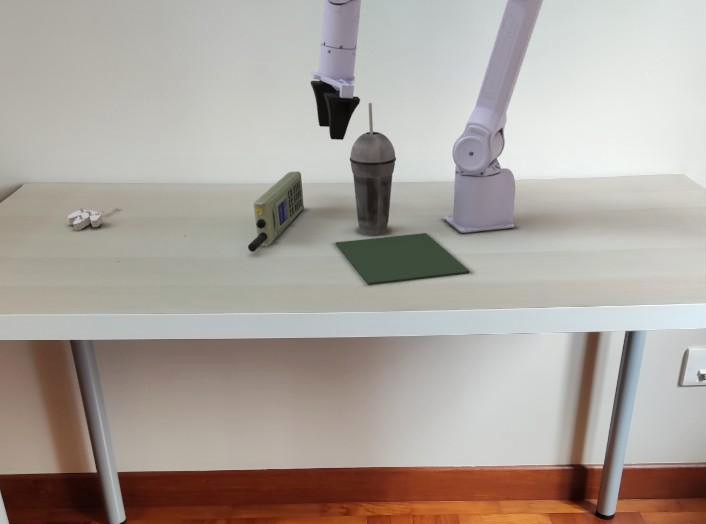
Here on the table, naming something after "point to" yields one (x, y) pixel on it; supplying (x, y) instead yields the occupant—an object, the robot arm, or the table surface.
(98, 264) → the table surface
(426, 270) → the mat
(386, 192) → the beverage cup
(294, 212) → the handheld radio
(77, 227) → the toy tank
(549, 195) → the table surface
